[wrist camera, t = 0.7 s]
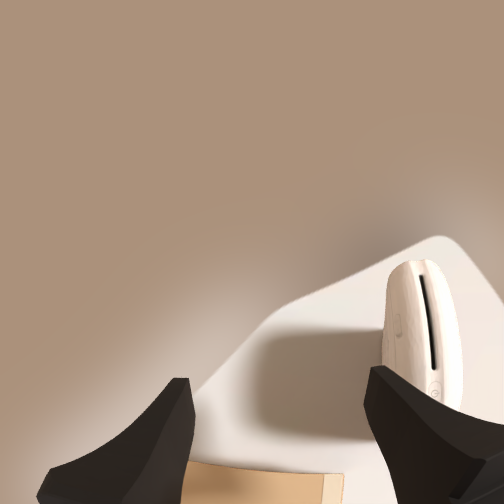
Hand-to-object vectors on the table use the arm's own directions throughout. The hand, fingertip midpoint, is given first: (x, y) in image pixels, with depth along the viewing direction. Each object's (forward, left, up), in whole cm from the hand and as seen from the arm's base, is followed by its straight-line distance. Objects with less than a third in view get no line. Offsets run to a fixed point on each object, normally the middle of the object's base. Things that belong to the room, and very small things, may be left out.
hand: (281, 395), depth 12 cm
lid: (-10, +4, -10) cm, 14 cm away
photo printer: (+4, -7, -16) cm, 17 cm away
